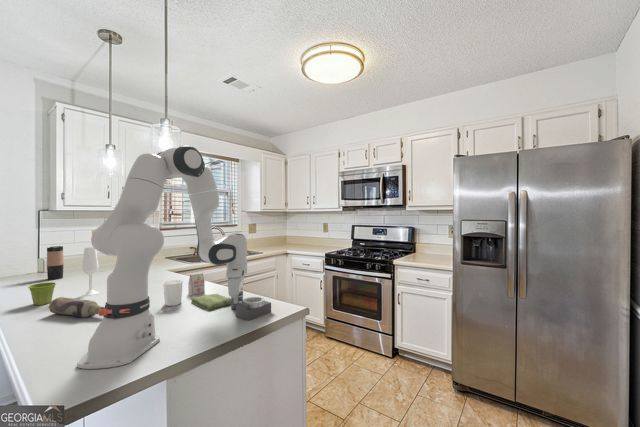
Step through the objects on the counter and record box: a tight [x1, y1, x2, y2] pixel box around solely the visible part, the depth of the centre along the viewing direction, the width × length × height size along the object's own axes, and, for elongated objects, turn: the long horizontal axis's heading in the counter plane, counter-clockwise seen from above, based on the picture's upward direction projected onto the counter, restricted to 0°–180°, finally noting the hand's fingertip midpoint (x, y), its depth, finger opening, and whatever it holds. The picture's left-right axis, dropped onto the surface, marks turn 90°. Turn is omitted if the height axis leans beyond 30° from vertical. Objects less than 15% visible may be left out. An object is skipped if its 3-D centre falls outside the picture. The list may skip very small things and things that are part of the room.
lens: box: [230, 290, 244, 311], centre depth 128 cm, size 5×5×7 cm
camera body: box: [235, 296, 272, 322], centre depth 120 cm, size 12×8×6 cm
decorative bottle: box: [48, 296, 105, 318], centre depth 118 cm, size 26×8×7 cm, turn 75°
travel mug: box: [46, 245, 64, 281], centre depth 182 cm, size 8×8×20 cm
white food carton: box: [187, 272, 206, 296], centre depth 150 cm, size 4×7×10 cm, turn 138°
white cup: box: [162, 279, 183, 307], centre depth 133 cm, size 8×8×10 cm
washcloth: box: [191, 293, 231, 311], centre depth 134 cm, size 13×18×3 cm
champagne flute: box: [81, 246, 100, 297], centre depth 149 cm, size 7×7×24 cm
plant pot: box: [27, 281, 57, 306], centre depth 134 cm, size 9×9×9 cm
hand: (237, 300), depth 128 cm, fingers closed on lens, 5 cm apart
